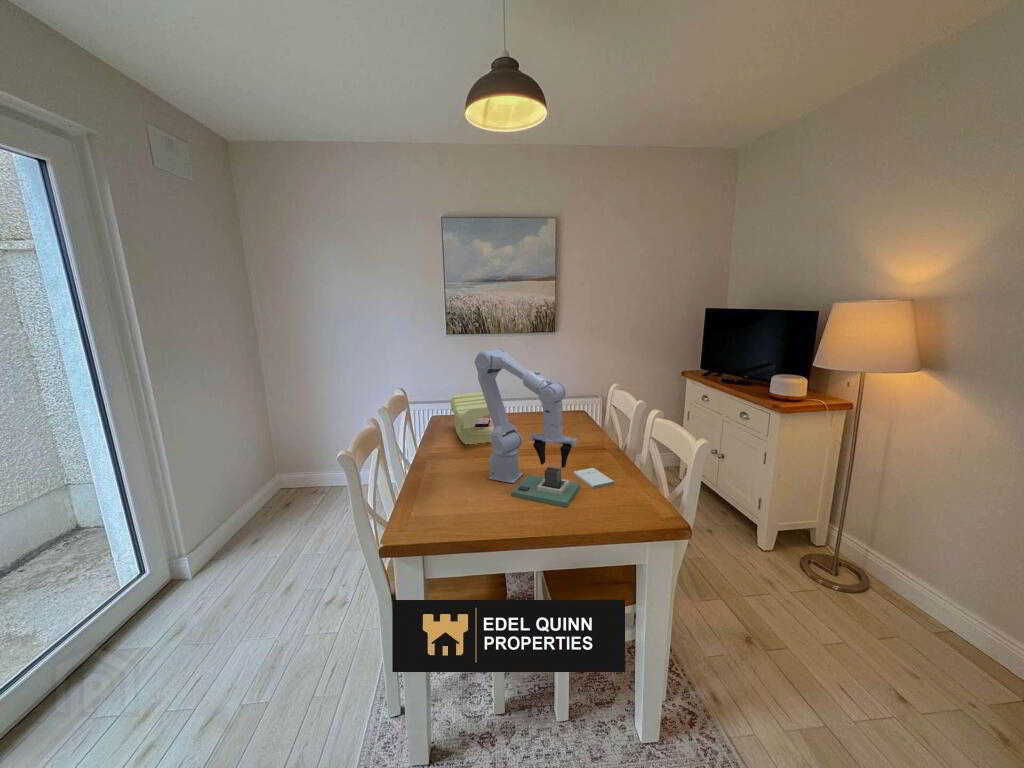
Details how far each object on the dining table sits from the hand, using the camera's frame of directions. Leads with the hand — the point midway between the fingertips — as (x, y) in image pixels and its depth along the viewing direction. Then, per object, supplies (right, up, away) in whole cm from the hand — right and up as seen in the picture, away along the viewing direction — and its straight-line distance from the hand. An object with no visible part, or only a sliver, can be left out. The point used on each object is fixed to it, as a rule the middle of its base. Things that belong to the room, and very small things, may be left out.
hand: (553, 464), depth 125 cm
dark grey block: (0, -7, +1) cm, 7 cm away
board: (-2, -9, +2) cm, 9 cm away
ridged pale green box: (-29, +1, +53) cm, 61 cm away
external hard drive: (+15, -7, +10) cm, 19 cm away
